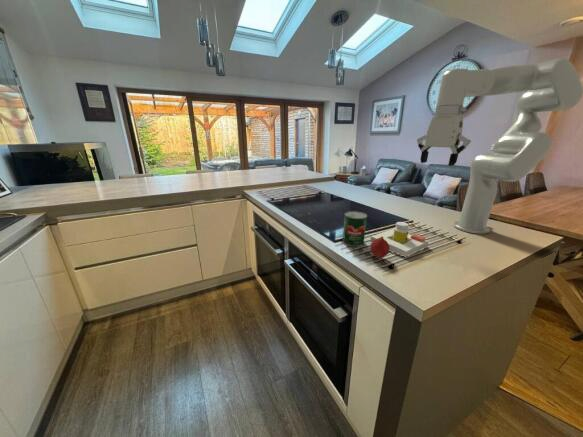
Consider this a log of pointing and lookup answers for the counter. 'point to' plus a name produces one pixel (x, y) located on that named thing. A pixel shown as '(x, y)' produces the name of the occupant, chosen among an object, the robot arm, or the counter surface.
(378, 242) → the onion
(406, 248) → the socket plate
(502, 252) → the counter surface
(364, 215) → the canned tomato
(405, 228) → the supplement bottle
